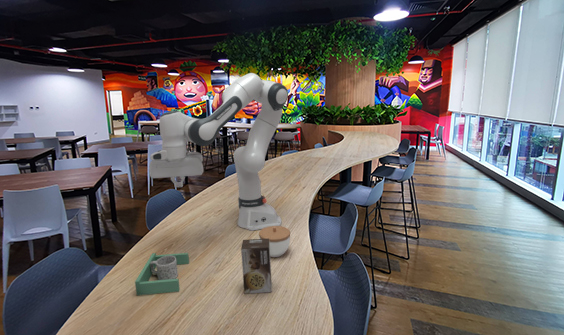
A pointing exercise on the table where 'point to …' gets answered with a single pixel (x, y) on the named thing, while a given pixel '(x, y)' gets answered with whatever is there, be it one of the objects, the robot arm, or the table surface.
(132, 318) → the table surface
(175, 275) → the mug
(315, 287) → the table surface
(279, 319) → the table surface
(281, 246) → the lidded bowl
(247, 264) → the brown food box
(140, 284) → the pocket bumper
